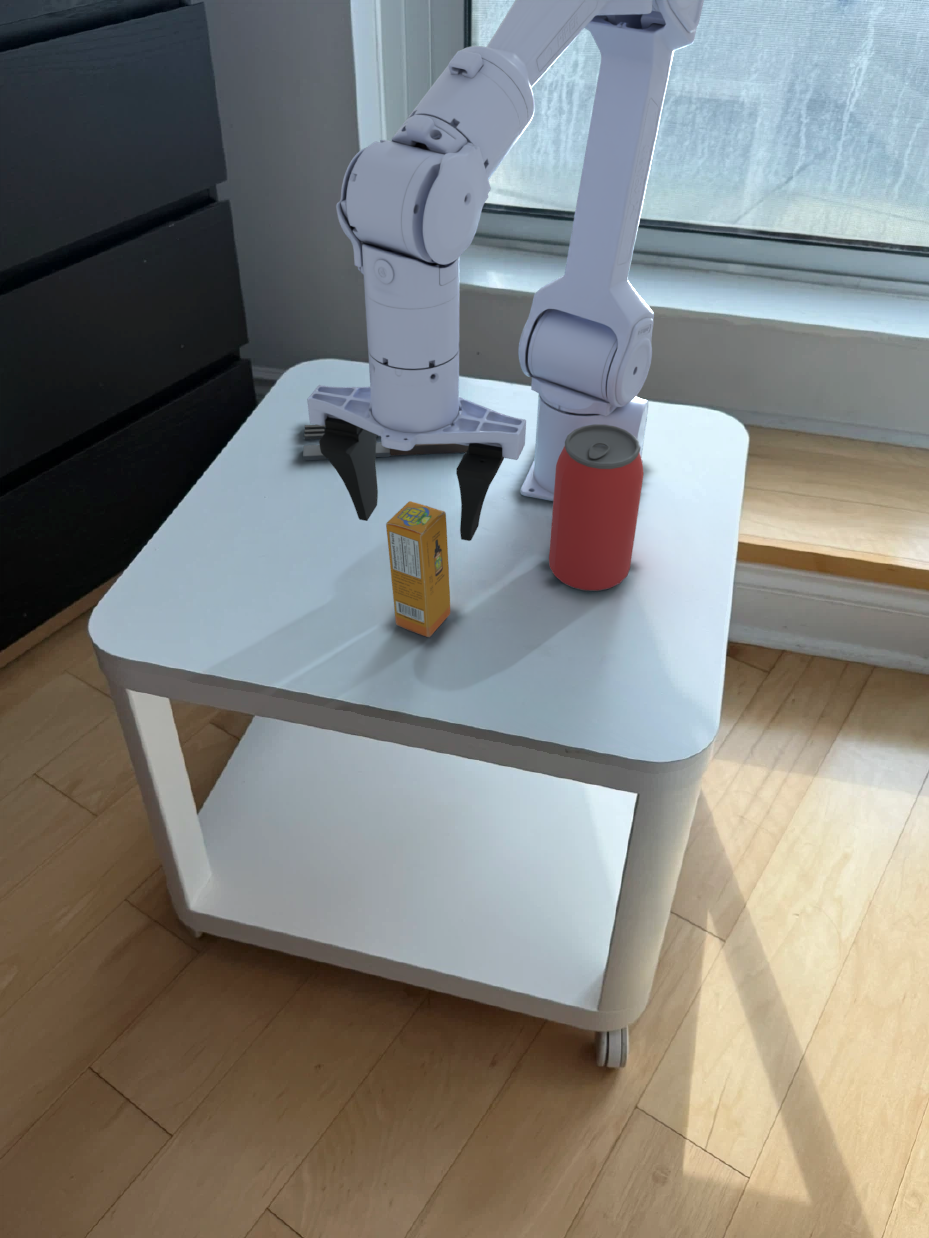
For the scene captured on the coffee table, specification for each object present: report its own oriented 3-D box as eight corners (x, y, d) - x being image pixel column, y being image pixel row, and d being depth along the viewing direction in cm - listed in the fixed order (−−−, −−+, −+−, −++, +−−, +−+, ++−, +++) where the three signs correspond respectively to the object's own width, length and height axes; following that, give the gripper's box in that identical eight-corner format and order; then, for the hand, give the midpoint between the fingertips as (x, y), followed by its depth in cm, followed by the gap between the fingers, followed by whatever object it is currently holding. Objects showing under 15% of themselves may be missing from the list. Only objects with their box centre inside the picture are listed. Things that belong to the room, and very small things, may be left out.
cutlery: (470, 421, 104) (471, 412, 103) (476, 453, 100) (476, 444, 99) (305, 428, 103) (303, 419, 102) (303, 460, 98) (302, 451, 98)
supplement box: (414, 600, 84) (410, 496, 77) (451, 615, 83) (451, 511, 76) (390, 625, 82) (384, 520, 75) (428, 641, 81) (426, 535, 74)
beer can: (534, 579, 86) (543, 453, 78) (567, 535, 90) (579, 411, 82) (611, 605, 84) (627, 478, 76) (641, 558, 88) (660, 433, 80)
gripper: (280, 360, 66) (301, 535, 75) (508, 397, 62) (501, 576, 72) (325, 310, 71) (339, 480, 80) (538, 342, 67) (527, 516, 77)
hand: (418, 522), depth 76 cm, fingers open, 7 cm apart
